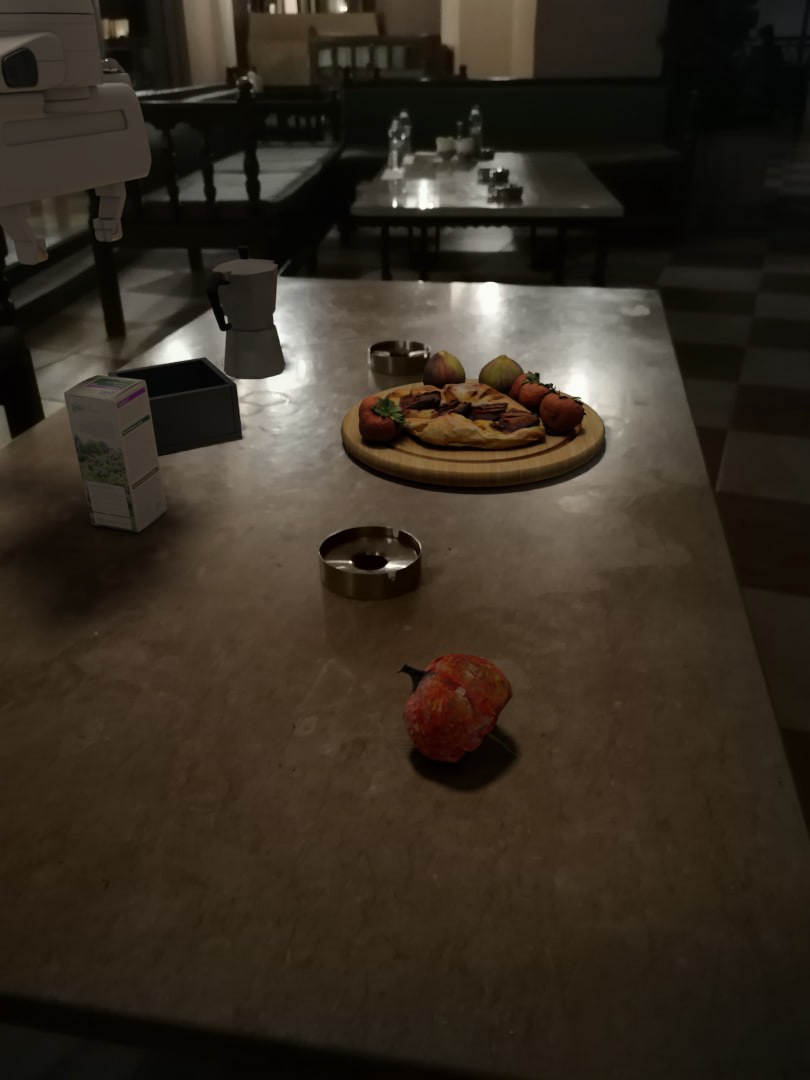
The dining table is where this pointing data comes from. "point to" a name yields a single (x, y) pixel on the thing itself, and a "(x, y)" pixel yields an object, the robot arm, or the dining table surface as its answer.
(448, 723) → the red rounded piece
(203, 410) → the open box
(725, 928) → the dining table surface
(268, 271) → the coffeepot
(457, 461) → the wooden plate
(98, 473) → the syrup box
